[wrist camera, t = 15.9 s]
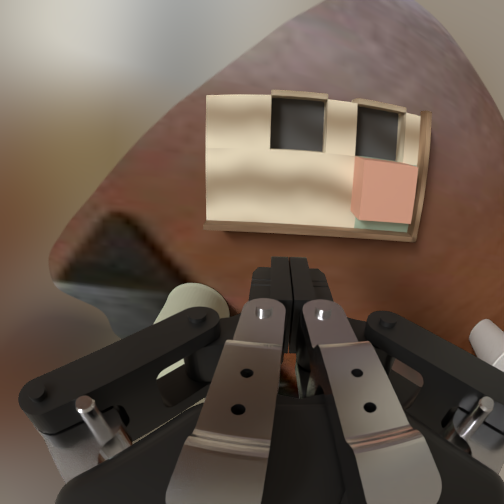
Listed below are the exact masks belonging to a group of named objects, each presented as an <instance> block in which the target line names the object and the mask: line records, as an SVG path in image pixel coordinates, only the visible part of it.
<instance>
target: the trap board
mask: <svg viewBox="0 0 504 504" xmlns="http://www.w3.org/2000/svg"><path fill="white" fill-rule="evenodd" d="M431 118H432V112H430V111H421V116H417V115H413V114H409V113H406V108H405V107H401V106H396V105H392V104H387V103H382V102H377V101H372V100H366V99H360V98H357V99H354V100H352V103H351V102H344V101H337V100H329V99H328V94H323V93H313V92H302V91H288V90H272V92H271V95H207V96H206V213H207V220H206V222H205V223H204V224H203V230H219V231H242V232H262V233H281V234H299V235H317V236H333V237H348V238H363V239H377V240H391V241H404V242H416V238H417V233H418V228H419V223H420V218H421V212H422V206H423V200H424V194H425V187H426V179H427V171H428V162H429V151H430V138H431ZM355 157H364V158H372V159H380V160H387V161H395V162H401V163H406V164H410V165H413V166H416V167H418V176H417V184H416V193H415V200H414V207H413V213H412V220H411V224H405V223H393V222H379V221H365V220H358V219H357V218H356V217H355V215H354V214H353V213H352V212H351V211H350V209H351V199H352V188H353V176H354V161H355Z"/></svg>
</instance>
